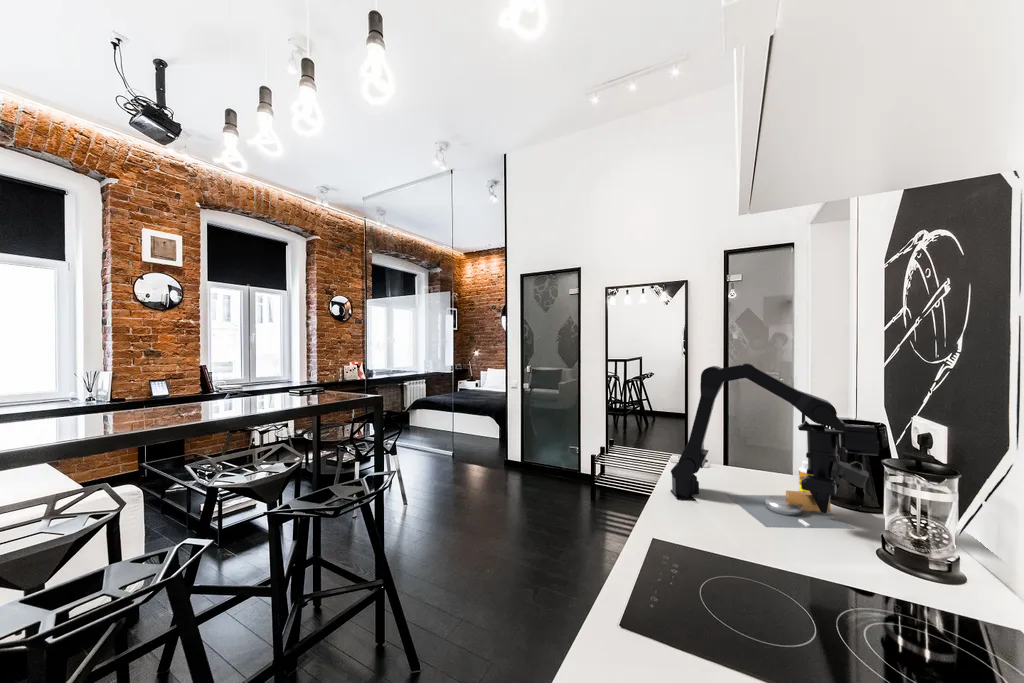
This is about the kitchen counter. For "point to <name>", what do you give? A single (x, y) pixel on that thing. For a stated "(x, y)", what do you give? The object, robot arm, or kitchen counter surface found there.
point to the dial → (792, 503)
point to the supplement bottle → (803, 474)
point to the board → (771, 519)
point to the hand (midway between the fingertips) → (823, 512)
